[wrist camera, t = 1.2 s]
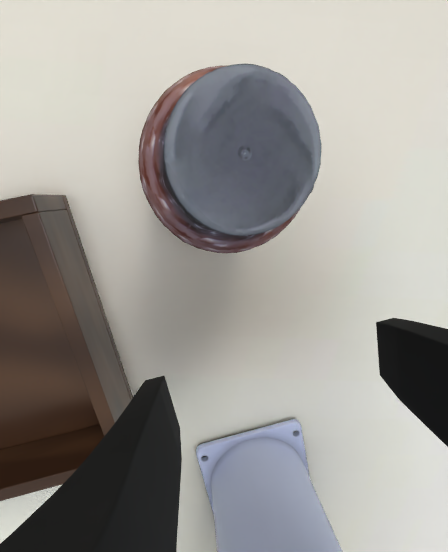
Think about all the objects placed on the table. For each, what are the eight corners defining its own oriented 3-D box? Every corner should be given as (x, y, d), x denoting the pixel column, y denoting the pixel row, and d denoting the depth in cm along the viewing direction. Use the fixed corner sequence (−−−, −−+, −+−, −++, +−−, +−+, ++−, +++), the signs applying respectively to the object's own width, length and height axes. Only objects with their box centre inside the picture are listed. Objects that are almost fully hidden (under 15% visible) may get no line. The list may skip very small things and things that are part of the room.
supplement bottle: (142, 206, 18) (78, 218, 7) (179, 106, 17) (170, -57, 6) (233, 245, 19) (296, 304, 8) (273, 153, 18) (402, 87, 7)
